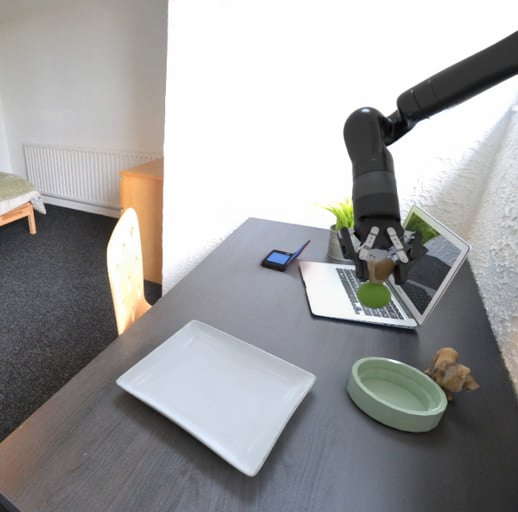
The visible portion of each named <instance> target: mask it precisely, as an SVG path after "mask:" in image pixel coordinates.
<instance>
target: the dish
mask: <svg viewBox="0 0 518 512" xmlns="http://www.w3.org/2000/svg"><path fill="white" fill-rule="evenodd" d="M431 378H432V377H431V376H428V375H426V374H424V372H423V371H421V370H419V369H418V368H416V367H413V366H411V365H409V364H406V363H404V362H401V361H398V360H394V359H391V358H386V357H380V356H379V357H378V356H371V357H364V358H361V359H359V360H356V361H355V362H354V364H353V365H352V367H351V370H350V372H349V376H348V379H347V381H346V383H347V386H346V390H347V392H348V394H349V397H350V399H352V401H353V402H354V404H355V405H356V406H357V407H358V409H360V410H361V411H363V412H364V413H366V414H367V415H368V416H369V417H371V418H372V419H374V420H376V421H377V422H380V423H381V424H384V425H386V426H388V427H391V428H393V429H397V430H400V431H405V432H411V433H423V432H430V431H431V430H432V429H435V428H436V427H437V426H438V424H439V423H440V421H441V419H442V416H443V414H444V413H445V411H446V408H447V406H448V400H447V399H446V395H445V393H444V392H443V391H444V390H443V389H441V388H440V386H439V385H438V384H437V383H436V382H434V381H433V380H432V379H431Z"/></svg>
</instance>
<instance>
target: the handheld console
mask: <svg viewBox="0 0 518 512" xmlns="http://www.w3.org/2000/svg"><path fill="white" fill-rule="evenodd" d="M310 243H311V239H309V240H307V242H305V243H304V244H303V245H302V246H301V247H300V248H299V249H298V250H297V251H296V252H293V253H292V252H287V251H283V250H280V249H272V250H271V251H270V252H269V253H268V254H266V256H265V257H264V258H263V260H262V261H261V262H260V265H261V266H263V267H267V268H270V269H274V270H278V271H282V272H285V271H287V269H288V267H289V266H290V264H291V263H293V262H294V261H295V260H296V259H297V258H298V257H299V256H300V255H301V254H302V253H303V252H304V250H305V249H306V248H307V247H308V246H309V244H310Z"/></svg>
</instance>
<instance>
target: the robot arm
mask: <svg viewBox="0 0 518 512" xmlns="http://www.w3.org/2000/svg"><path fill="white" fill-rule="evenodd" d="M516 76H518V29H517V30H515V31H513V32H512V33H510V34H509V35H507V36H505V37H504V38H502V39H500V40H499V41H497V42H495V43H493V44H491V45H489V46H487V47H485V48H483V49H482V50H480V51H477V52H475V53H474V54H472V55H469V56H467V57H465V58H462V59H461V60H459V61H457V62H455V63H454V64H451V65H450V66H449V65H448V66H447V67H445V68H444V69H442V70H440V71H438V72H437V73H435V74H433V75H431V76H429V77H427V78H425V79H424V80H422V81H420V82H418V83H417V84H415V85H413V86H411V87H410V88H408V89H405V91H403V92H402V93H400V94H399V95H398V96H397V98H396V101H395V106H396V110H394V111H393V112H392V113H390V114H389V115H388V116H386V115H384V114H383V113H382V111H380V110H379V109H377V108H375V107H373V106H362V107H359V108H357V109H355V110H354V111H352V112H351V113H350V114H349V115H348V116H347V118H346V119H345V121H344V124H343V129H342V137H343V141H344V145H345V148H346V152H347V155H348V157H349V161H350V163H351V177H352V179H351V181H352V187H351V188H352V189H351V202H352V216H353V217H352V218H353V226H352V227H348V226H341V228H339V230H338V231H337V232H336V238H337V241H338V244H339V248H340V251H341V254H342V257H343V259H344V260H347V261H348V260H349V261H352V262H353V263H354V272H355V278H356V279H357V280H359V283H364V282H367V281H368V279H369V276H368V260H366V259H367V257H368V255H369V252H370V251H371V250H380V251H384V252H385V254H386V256H387V257H389V259H391V260H393V261H394V263H395V268H394V271H393V280H394V281H393V282H394V285H395V286H403V285H405V284H406V282H407V281H408V280H409V273H408V272H409V271H408V265H411V264H413V262H416V261H418V260H419V259H420V256H421V249H422V242H423V241H422V240H423V232H422V230H415V231H410V230H406V229H405V228H404V226H403V225H402V212H401V211H402V210H401V202H400V201H401V200H400V193H399V185H398V181H397V178H396V173H395V172H396V171H395V170H396V169H395V162H394V157H393V154H392V152H391V151H390V149H389V147H391V146H393V145H395V144H396V143H397V142H398V141H400V140H401V139H402V138H404V137H405V136H407V135H408V134H410V133H411V132H412V131H413V130H415V129H416V128H417V127H419V125H421V124H423V123H424V122H427V121H429V120H431V119H433V118H435V117H437V116H439V115H441V114H443V113H445V112H447V111H450V110H451V109H453V108H455V107H457V106H459V105H462V104H464V103H465V102H467V101H470V100H471V99H473V98H475V97H477V96H478V95H480V94H482V93H484V92H486V91H488V90H490V89H492V88H494V87H496V86H497V85H500V84H501V83H504V82H505V81H507V80H510V79H512V78H514V77H516ZM353 236H355V238H356V239H357V240H358V242H359V244H358V247H357V249H356V250H355V247H354V243H353V240H352V238H353ZM401 238H402V239H404V240H403V242H404V244H406V246H405V248H404V246H403V244H402V242H401V240H400V239H401ZM404 249H405V251H404Z"/></svg>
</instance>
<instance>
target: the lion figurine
mask: <svg viewBox="0 0 518 512" xmlns="http://www.w3.org/2000/svg"><path fill="white" fill-rule="evenodd" d="M459 358H460V355H459V352H457V351H456V350H455V349H454V348H452V347H442V348H441V349H439V350H438V351H437V352H436V354H435V355H434V357H433V358H432V359H431V361H432V362H431V365H429V367H428V368H427V369H426V370H424V371H423V373H424V374H426V375H427V376H429V377H430V378H431V379H432V380H433V381H434V382H436V383H437V384H438V385H439V386H440V388H441V389H442V390H443V392H444V393H445V395H446V399H447V401H452V400H453V398H452V397H451V396H450V394H451V393H459V392H461V391H462V390H463V389H464V390H465V391H466V392H468V393H470V392H472V391H475V390H477V389H479V388H480V385H479V384H478V383H477V382H476V381H475V380H474V377H473V376H472V375H471V373H472V372H471V368H470V367H468V366H464V365H463V364H461V363H458V361H459Z"/></svg>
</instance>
